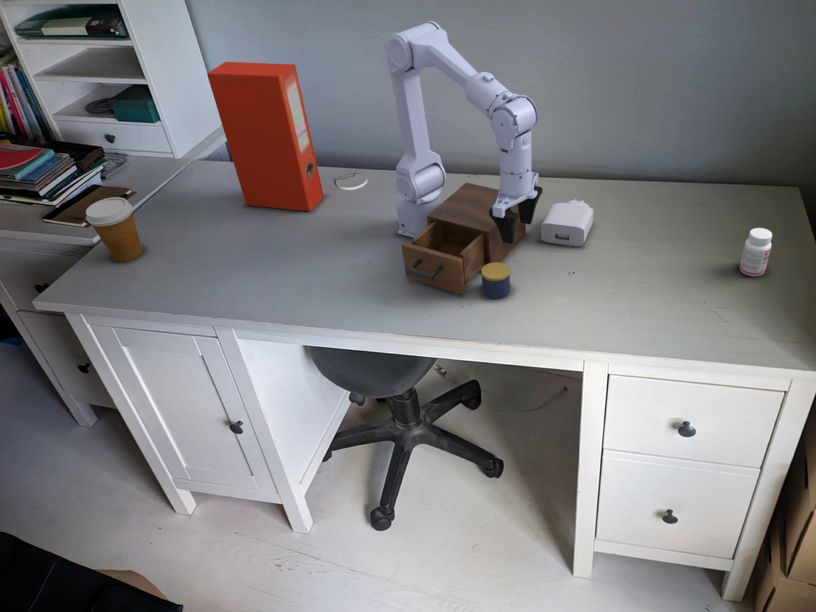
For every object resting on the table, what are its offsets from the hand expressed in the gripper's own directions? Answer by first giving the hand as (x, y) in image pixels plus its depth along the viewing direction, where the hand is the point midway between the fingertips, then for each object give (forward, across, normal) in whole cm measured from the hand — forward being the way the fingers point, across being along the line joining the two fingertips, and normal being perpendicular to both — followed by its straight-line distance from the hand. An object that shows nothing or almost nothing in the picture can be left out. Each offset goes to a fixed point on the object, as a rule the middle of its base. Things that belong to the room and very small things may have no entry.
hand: (517, 232), depth 136 cm
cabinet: (+10, +7, +13) cm, 18 cm away
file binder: (+10, +4, +66) cm, 67 cm away
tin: (+10, -6, +2) cm, 12 cm away
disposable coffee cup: (+10, -30, +84) cm, 89 cm away
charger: (+10, +22, -2) cm, 24 cm away
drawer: (+9, -6, +13) cm, 17 cm away
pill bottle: (+10, +21, -41) cm, 47 cm away
